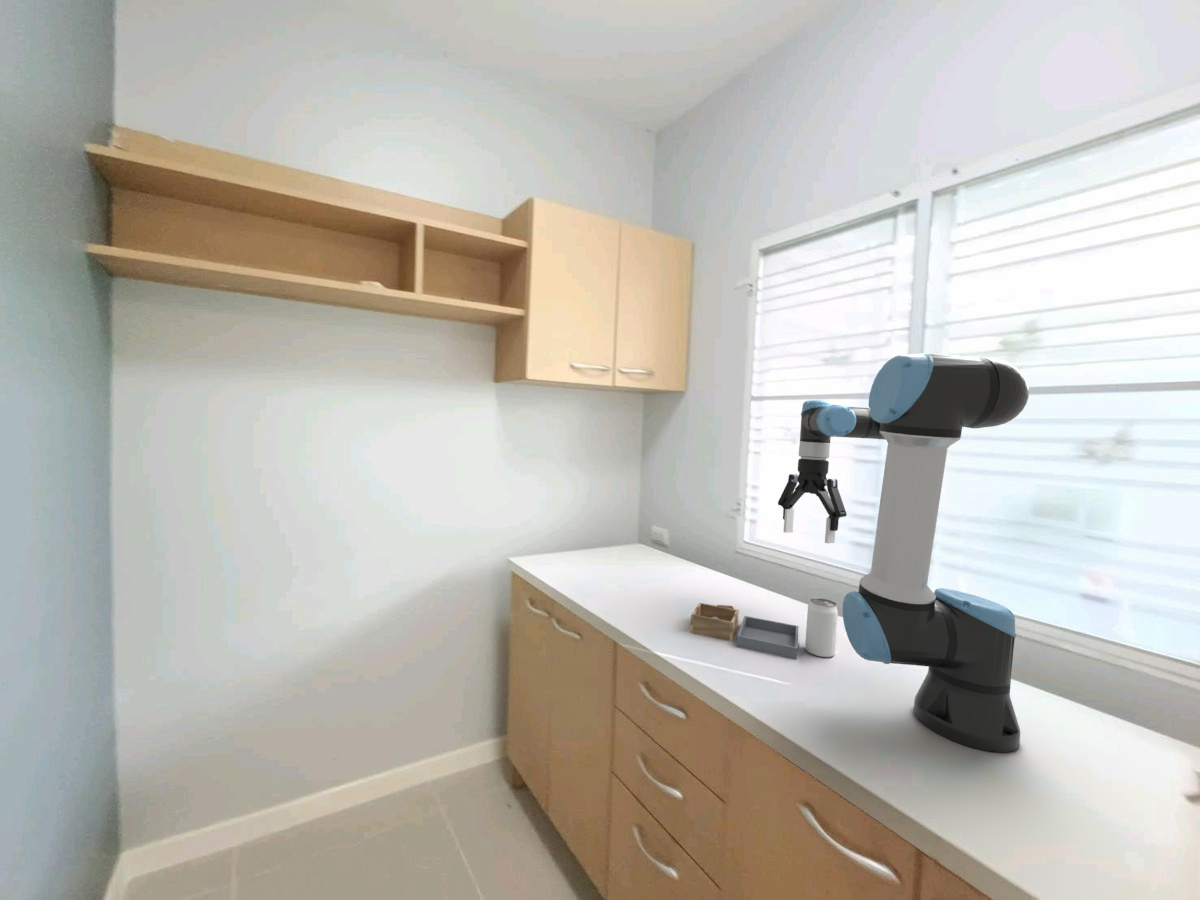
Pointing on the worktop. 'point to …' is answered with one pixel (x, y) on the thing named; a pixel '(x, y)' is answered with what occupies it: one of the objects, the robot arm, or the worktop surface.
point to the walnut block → (726, 606)
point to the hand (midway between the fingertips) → (807, 537)
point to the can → (821, 627)
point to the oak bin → (714, 621)
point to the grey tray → (768, 637)
